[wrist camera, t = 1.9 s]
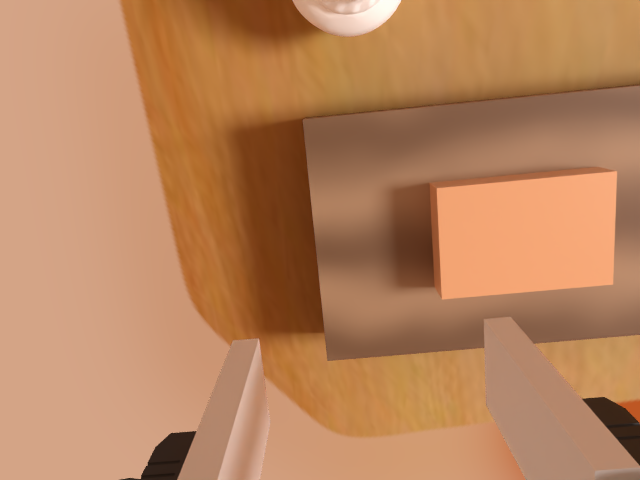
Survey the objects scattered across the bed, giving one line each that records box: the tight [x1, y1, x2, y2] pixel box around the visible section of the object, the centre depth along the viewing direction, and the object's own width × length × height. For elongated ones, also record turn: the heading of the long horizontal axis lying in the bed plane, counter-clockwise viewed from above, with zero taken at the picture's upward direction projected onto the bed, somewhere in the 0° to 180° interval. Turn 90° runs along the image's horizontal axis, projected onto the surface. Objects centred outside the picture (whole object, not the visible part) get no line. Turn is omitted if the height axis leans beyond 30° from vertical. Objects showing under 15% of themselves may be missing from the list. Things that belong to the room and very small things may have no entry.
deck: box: [303, 84, 640, 361], centre depth 32 cm, size 14×24×4 cm, turn 96°
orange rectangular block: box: [429, 167, 617, 300], centre depth 29 cm, size 6×9×2 cm, turn 96°
